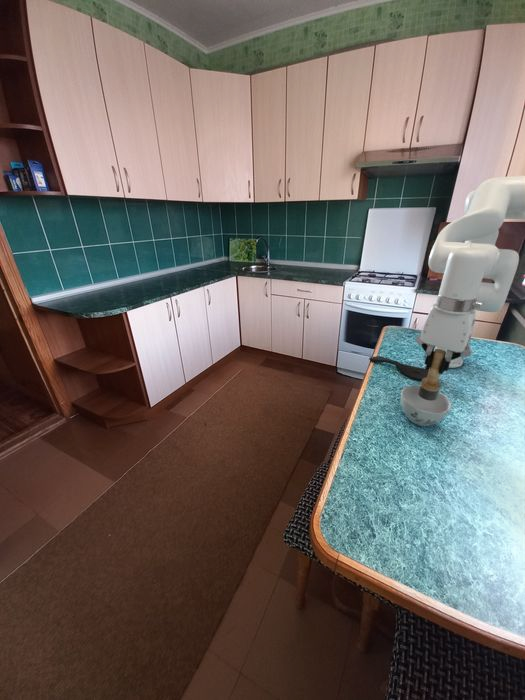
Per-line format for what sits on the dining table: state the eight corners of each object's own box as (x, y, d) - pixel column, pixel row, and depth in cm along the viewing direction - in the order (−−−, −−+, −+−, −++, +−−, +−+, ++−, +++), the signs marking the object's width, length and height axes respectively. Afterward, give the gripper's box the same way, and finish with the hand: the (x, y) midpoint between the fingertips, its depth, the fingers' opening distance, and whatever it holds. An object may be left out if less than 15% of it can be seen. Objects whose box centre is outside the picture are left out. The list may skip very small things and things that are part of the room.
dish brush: (418, 389, 83) (429, 345, 77) (436, 393, 82) (449, 349, 75) (418, 398, 80) (430, 353, 73) (437, 402, 78) (451, 356, 72)
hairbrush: (374, 349, 118) (443, 366, 103) (373, 357, 120) (441, 375, 104) (365, 356, 113) (437, 376, 97) (364, 365, 115) (435, 385, 99)
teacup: (439, 441, 77) (447, 418, 73) (390, 422, 84) (396, 400, 80) (448, 412, 87) (456, 390, 84) (404, 397, 94) (409, 376, 91)
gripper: (499, 306, 66) (474, 375, 74) (423, 293, 76) (409, 355, 84) (492, 315, 61) (466, 387, 69) (413, 299, 71) (398, 364, 80)
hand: (435, 369), depth 77 cm, fingers closed on dish brush, 2 cm apart
